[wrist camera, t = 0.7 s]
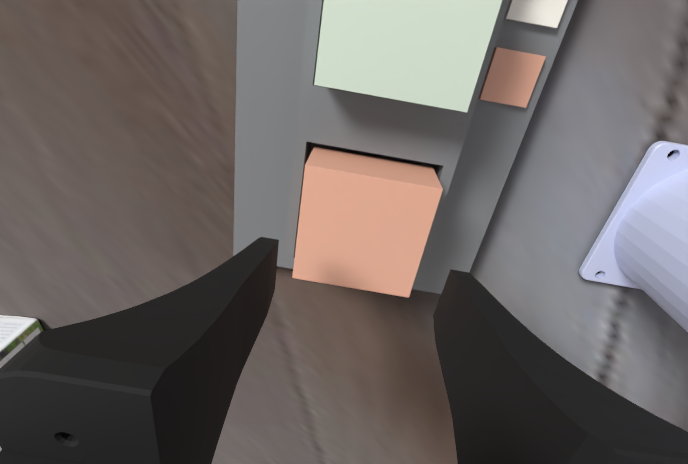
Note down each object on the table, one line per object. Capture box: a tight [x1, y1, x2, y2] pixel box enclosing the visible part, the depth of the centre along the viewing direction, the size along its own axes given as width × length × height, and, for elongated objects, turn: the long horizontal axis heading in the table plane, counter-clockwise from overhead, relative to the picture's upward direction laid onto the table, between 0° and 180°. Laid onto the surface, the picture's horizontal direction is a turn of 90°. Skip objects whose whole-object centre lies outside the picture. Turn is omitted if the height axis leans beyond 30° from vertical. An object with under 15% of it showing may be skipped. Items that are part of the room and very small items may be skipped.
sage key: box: [314, 0, 502, 112], centre depth 12 cm, size 5×5×2 cm
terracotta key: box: [292, 147, 443, 298], centre depth 16 cm, size 5×5×2 cm
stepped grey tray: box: [233, 0, 578, 294], centre depth 14 cm, size 13×26×4 cm, turn 171°
